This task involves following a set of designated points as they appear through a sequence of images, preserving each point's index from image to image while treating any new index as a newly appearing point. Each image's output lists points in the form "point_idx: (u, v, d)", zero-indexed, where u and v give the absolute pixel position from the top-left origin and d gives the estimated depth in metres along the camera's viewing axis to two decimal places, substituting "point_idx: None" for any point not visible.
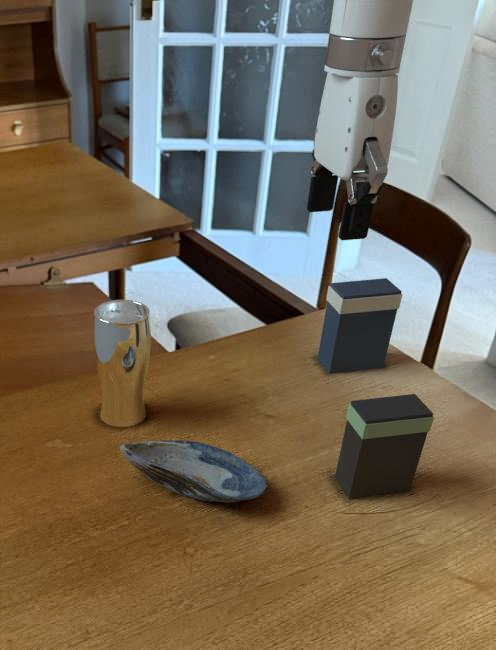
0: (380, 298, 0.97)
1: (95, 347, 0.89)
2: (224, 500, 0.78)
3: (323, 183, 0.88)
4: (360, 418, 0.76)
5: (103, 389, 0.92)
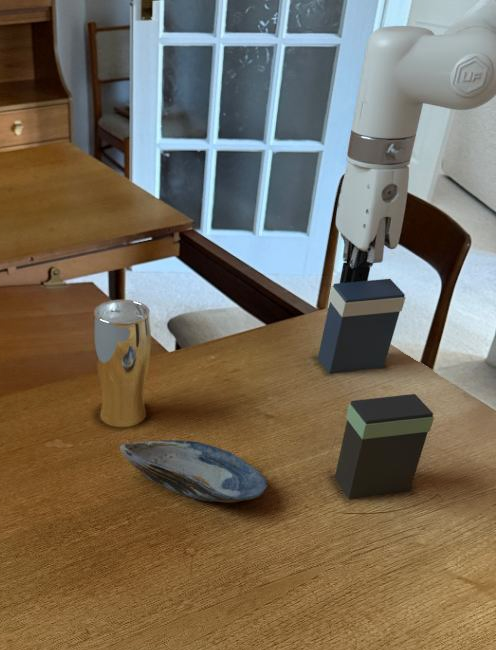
0: (383, 301, 0.96)
1: (95, 347, 0.89)
2: (224, 500, 0.78)
3: None
4: (360, 418, 0.76)
5: (103, 389, 0.92)
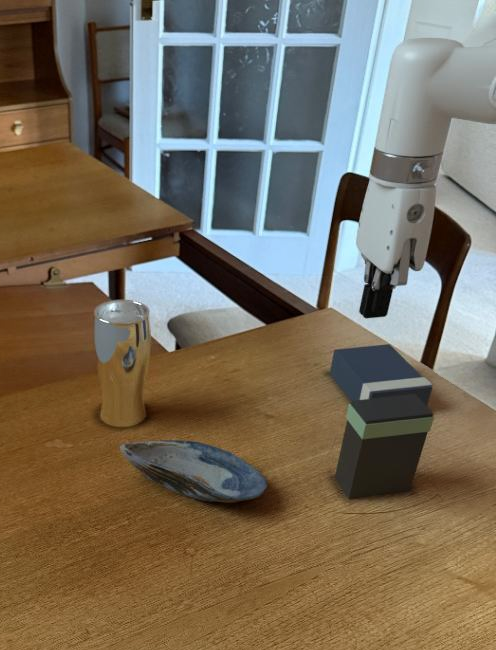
0: None
1: (95, 347, 0.89)
2: (224, 500, 0.78)
3: None
4: (360, 418, 0.76)
5: (103, 389, 0.92)
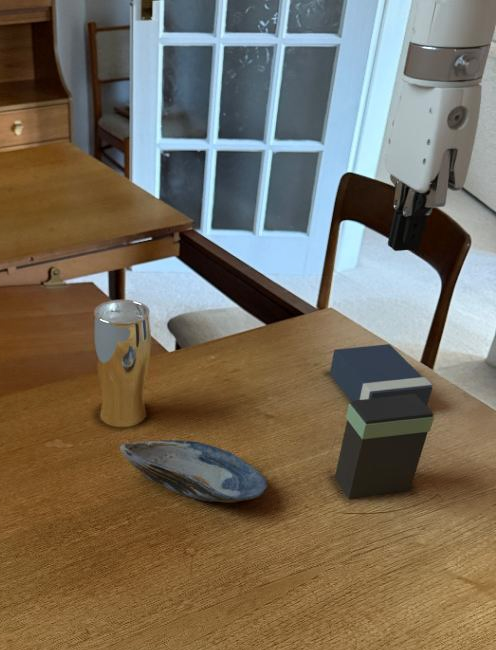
0: None
1: (95, 347, 0.89)
2: (224, 500, 0.78)
3: None
4: (360, 418, 0.76)
5: (103, 389, 0.92)
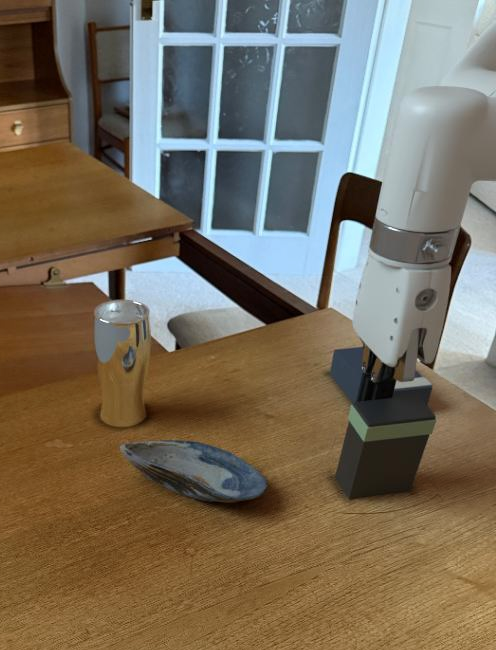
0: None
1: (95, 347, 0.89)
2: (224, 500, 0.78)
3: None
4: (362, 420, 0.76)
5: (103, 389, 0.92)
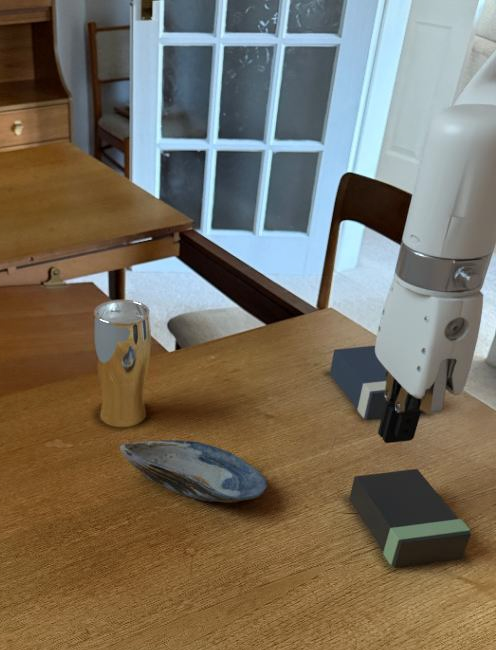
0: None
1: (95, 347, 0.89)
2: (224, 500, 0.78)
3: None
4: (392, 561, 0.73)
5: (103, 389, 0.92)
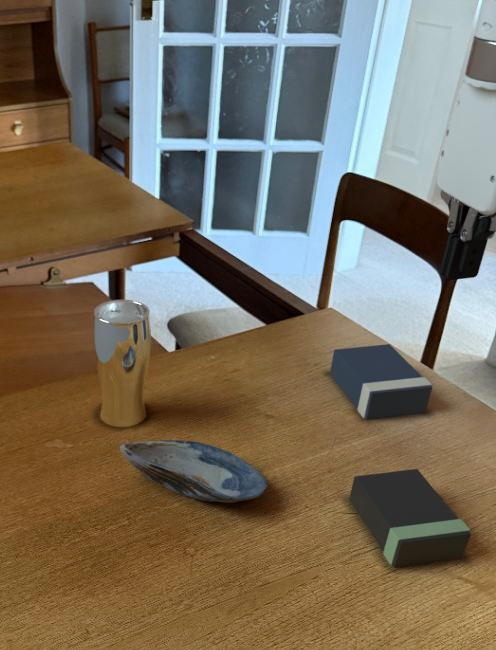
0: None
1: (95, 347, 0.89)
2: (224, 500, 0.78)
3: None
4: (392, 561, 0.73)
5: (103, 389, 0.92)
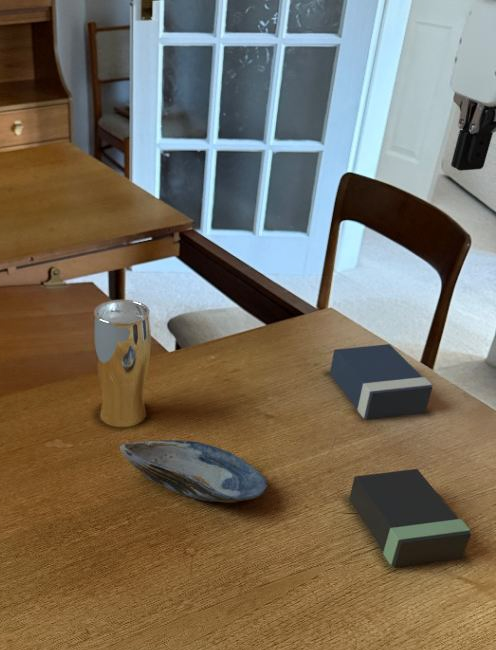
0: None
1: (95, 347, 0.89)
2: (224, 500, 0.78)
3: None
4: (392, 561, 0.73)
5: (103, 389, 0.92)
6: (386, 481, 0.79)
